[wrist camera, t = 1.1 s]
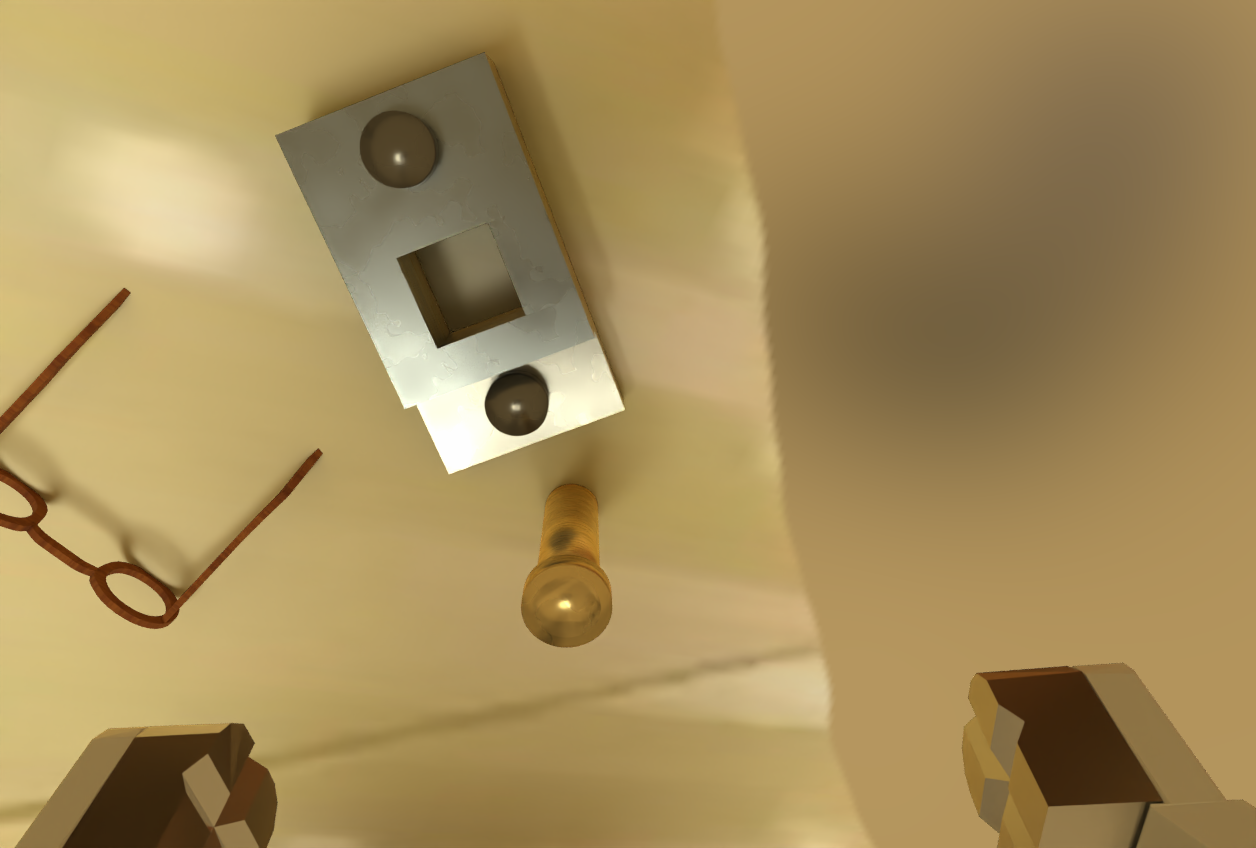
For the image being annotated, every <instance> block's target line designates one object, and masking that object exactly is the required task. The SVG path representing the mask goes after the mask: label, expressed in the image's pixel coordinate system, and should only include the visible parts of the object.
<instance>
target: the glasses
mask: <svg viewBox="0 0 1256 848" xmlns="http://www.w3.org/2000/svg"><path fill="white" fill-rule="evenodd" d="M129 294H130V292H129V291H128V290H126V289H125V288H124V289H123V290H122V291H121V292H120V293H119V294H118V295H117V296H116V297H115V298H114V299H113V300H112V301H111V302H110V303H109V304H108V305H107V306H106V307H105V308H104V309H103V310H102V311H101V312H100V313H99V314H98V315H97V316H96V317H95V318H94V319H93V320H92V321H91V322H90V323H89V324H88V326H87V327H86V328H85V329H84V330H83V331H82V332H81V333H80V334H79V335H78V336H77V337H76V338H75V339H74V340H73V341H72V342H71V343H70V344H69V345H68V346H67V347H66V348H65V349H64V350H63V351H62V352H61V353H60V354H59V355H58V356H57V357H56V358H55V359H54V360H53V361H52V362H51V363H50V365H49V366H48V367H47V368H46V369H45V370H44V371H43V372H42V373H41V375H40V376H39V377H38V378H37V379H36V380H35V381H34V382H33V383H32V384H31V385H30V386H29V388H28V389H27V390H26V391H25V392H24V393H23V394H22V395H21V396H20V397H19V398H18V399H17V400H16V401H15V402H14V403H13V405H12V406H11V407H10V408H9V409H8V410H7V411H6V412H5V413H4V414H3V415H2V416H1V417H0V434H1V433H2V432H3V431H4V430H5V429H6V428H7V427H8V425H9V424H10V423H11V422H12V421H13V420H14V419H15V418H16V417H17V416H18V415H19V414H20V413H21V412H22V411H23V410H24V408H25V407H26V406H27V405H28V404H29V403H30V402H31V401H32V400H33V399H34V398H35V397H36V396H37V395H38V394H39V393H40V391H41V390H42V389H43V388H44V387H45V386H46V385H47V384H48V383H49V382H50V381H51V379H52V378H53V377H54V376H55V375H56V374H57V373H58V371H59V370H60V369H61V368H62V367H63V366H64V365H65V363H66V362H67V361H68V360H69V359H70V358H71V357H72V356H73V355H74V354H75V353H76V352H77V351H78V350H79V348H80V347H81V346H82V345H83V344H84V343H85V342H86V341H87V340H88V339H89V338H90V337H91V336H92V335H93V334H94V333H95V332H96V331H97V330H98V329H99V328H100V327H101V326H102V324H103V323H104V322H105V321H106V320H107V319H108V318H109V317H110V316H111V315H112V314H113V313H114V312H115V311H116V310H117V309H118V308H119V307H120V306H121V305H122V303H123V302H124V301H125V299H126V298H127V297H128V296H129ZM322 454H323V453H322V452H321V451H320V450H319V448H318V449H317V450H316V451H315V452H314V453H313V454H312V455H311V456H310V457H309V458H308V459H307V460H306V461H305V462H304V464H303V465H302V466H301V467H300V468H299V470H298V471H297V472H296V473H295V474H294V476H293V477H292V478H291V479H290V481H289V482H288V483H287V484H286V485H285V487H284V488H283V489H282V490H281V492H280V493H279V494H278V495H277V496H276V497H275V498H274V499H273V500H272V501H271V502H270V503H269V504H268V505H267V506H266V507H265V508H264V509H263V510H262V511H261V512H260V513H259V514H258V515H257V516H256V517H255V518H254V519H253V520H252V522H251V523H250V524H249V525H248V526H247V527H246V528H245V529H244V530H243V531H242V532H241V533H240V534H239V535H238V536H237V537H236V538H235V539H234V540H233V541H232V542H231V544H230V545H229V546H228V547H227V548H226V549H225V550H224V551H223V552H222V553H221V554H220V555H219V556H218V557H217V559H216V560H215V561H214V562H213V563H212V564H211V565H210V566H209V567H208V568H207V569H206V570H205V571H204V572H203V573H202V575H201V576H200V577H199V578H198V579H197V580H196V581H195V582H194V583H193V584H192V585H191V586H190V587H189V588H188V590H187V591H186V592H185V593H184V594H183V595H182V596H181V597H180V598H179V599H178V600H177V599H176V597H175V595H174V594H173V593H172V592H171V590H170V589H169V588H167V587H166V586H165V585H163V584H162V583H160V582H159V581H158V580H156V579H155V578H154V577H152V576H151V575H149V574H148V573H147V572H145V571H144V570H143V569H141V568H140V567H137V566H135V565H133V564H129V563H126V562H119V561H118V562H111V563H108V564H105V565H103V566H101V567H99V568H97V567H95V566H93V565H91V564H89V563H87V562H85V561H83V560H82V559H80V558H79V557H78V556H76V555H75V554H73V553H72V552H71V551H69V550H68V549H66V548H65V547H64V546H62V545H61V544H59V543H58V542H56V541H55V540H54V539H52V538H51V537H49V536H48V535H47V534H46V533H45V532H44V531H42V530H41V528H40V527H39V526H38V523H39V522H40V521H41V520H42V519H43V518H44V517H45V516H46V513H47V511H48V510H47V505H46V503H45V502H44V500H43V499H42V498H41V496H40V495H39V494H38V493H36V492H35V491H33V490H32V489H31V488H29V487H28V486H26V485H25V484H24V483H22V482H21V481H20V480H18V479H17V478H15V477H14V476H13V475H11V474H10V473H8V472H7V471H5V470H3V469H0V481H2V482H4V483H5V484H7V485H9V486H10V487H12V488H13V489H15V490H16V491H18V492H19V493H20V494H21V495H22V496H23V497H24V498H26V500H27V501H28V502H29V503H30V505H31V507H32V510H33V513H32V515H31V516H28V517H24V518H18V517H12V516H8V515H5V514H2V513H0V526H2V527H5V528H8V529H12V530H16V531H27V533H28V534H29V535H30V537H31V538H32V539H33V540H34V541H35V542H36V543H37V544H38V545H40V546H41V547H43V548H44V549H45V550H47V551H48V552H50V553H51V554H52V555H54V556H55V557H57V558H58V559H59V560H61V561H62V562H64V563H65V564H67V565H68V566H69V567H71V568H73V569H74V570H76V571H78V572H80V573H83V574H85V575H88V576H90V579H89V581H90V584H91V586H92V588H93V590H94V591H95V593H96V595H97V596H98V597H99V598H100V600H101V601H102V602H103V603H104V604H105V605H106V606H107V607H109V608H110V609H111V610H112V611H114V612H115V613H116V614H118V615H119V616H121V617H123V618H124V619H126V620H128V621H130V622H132V623H134V624H136V625H139V626H142V627H146V628H152V629H159V628H164V627H166V626H168V625H169V624H170V623H172V622H173V621H174V619H175V618H176V617H177V615H178V613H179V608H180V607H181V606H182V605H183V604H184V603H185V602H186V601H187V600H188V599H189V597H190V596H191V595H192V594H193V593H194V592H195V591H196V590H197V589H198V588H199V587H200V586H201V585H202V584H203V583H204V581H205V580H206V579H207V578H208V577H209V576H210V575H211V574H212V573H213V572H214V571H215V570H216V569H217V568H218V566H219V565H220V564H221V563H222V562H223V561H224V560H225V559H226V558H227V557H228V556H229V555H230V554H231V553H232V551H233V550H234V549H235V548H236V547H237V546H238V545H239V544H240V543H241V542H242V541H243V540H244V539H245V538H246V537H247V536H248V535H249V534H250V533H251V532H252V531H253V530H254V529H255V528H256V527H257V526H258V525H259V524H260V523H261V522H262V521H263V520H264V519H265V518H266V517H267V516H268V515H269V514H270V513H271V512H272V511H273V510H274V509H275V508H276V507H278V506H279V505H280V504H281V503H282V502H283V501H284V500H285V499H286V498H287V497H288V496H289V495H290V493H291V492H292V491H293V490H294V488H295V487H296V486H297V485H298V484H299V482H300V481H301V480H302V479H303V477H304V476H305V475H306V474H307V472H308V471H309V470H310V469H311V468H312V466H313V465H314V464H315V463H316V461H317V460H318V459H319V458H320V456H321V455H322ZM114 573H123V574H127V575H130V576H133V577H135V578H137V579H139V580H141V581H142V582H144V583H145V584H147V585H148V586H150V587H151V588H152V589H153V590H155V591H156V592H157V593H158V594H159V596H160V597H161V598H162V599H163V601H164V603H165V606H166V613H165V614H164V615H162V616H148V615H145V614H142V613H140V612H137V611H135V610H133V609H132V608H130V607H128V606H127V605H125V604H124V603H123V602H122V601H120V600H119V599H118V598H117V597H116V596H115V595H114V594H113V593H112V592H111V590H110V589H109V587H108V585H107V582H106V576H108V575H110V574H114Z"/></svg>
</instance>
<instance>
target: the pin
mask: <svg viewBox="0 0 1256 848" xmlns="http://www.w3.org/2000/svg"><path fill="white" fill-rule="evenodd" d="M521 611H522V617H523V620H524V622H525V624H526V626H527V628H528V629H529V630H530V632H531V633H532V634H533V635H534V636H536V637H537V638H538V639H540V640H541V641H543V642H545V643H547V644H550V645H553V646H557V647H576V646H580V645H583V644H586V643H588V642H590V641H592V640H594V639H595V638H596V637H598V636H599V635H600V634H601V633H602V632H603V631H604V629H605V628H606V626H607V625H608V623H609V620H610V618H611V614H612V594H611V585H610V582H609V579H608V577H607V575H606V574H605V572H604V571H603V570H602V569H601V568H600V562H599V529H598V504H597V501H596V498H595V496H594V495H593V494H592V492H591V491H589V490H588V489H587V488H585V487H583V486H580V485H577V484H567V485H563V486H560V487H558V488H556V489H555V490H554V491H553V492H552V493H551V494H550V495H549V497H548V498H547V501H546V505H545V513H544V521H543V528H542V536H541V544H540V552H539V560H538V565H537V566H536V567H535V568H534V569H533V570H532V571H531V572H530V574H529V575H528V577H527V579H526V582H525V585H524V590H523V596H522V604H521Z"/></svg>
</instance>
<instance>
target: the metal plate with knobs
mask: <svg viewBox="0 0 1256 848" xmlns="http://www.w3.org/2000/svg"><path fill="white" fill-rule="evenodd" d="M275 137H276V139H277V141H278V143H279V145H280V147H281V149H282V151H283V153H284V156H285V158H286V160H287V162H288V164H289V166H290V168H291V170H292V172H293V175H294V177H295V179H296V181H297V183H298V185H299V187H300V189H301V191H302V193H303V196H304V198H305V200H306V202H307V204H308V206H309V208H310V210H311V212H312V215H313V217H314V219H315V221H316V223H317V225H318V227H319V229H320V231H321V233H322V236H323V238H324V240H325V242H326V244H327V246H328V248H329V250H330V252H331V255H332V257H333V259H334V261H335V263H336V265H337V267H338V269H339V271H340V273H341V276H342V278H343V280H344V282H345V284H346V286H347V288H348V290H349V292H350V295H351V297H352V299H353V301H354V303H355V305H356V307H357V309H358V311H359V314H360V316H361V318H362V320H363V322H364V324H365V326H366V328H367V330H368V332H369V335H370V337H371V339H372V341H373V343H374V345H375V347H376V349H377V351H378V354H379V356H380V358H381V360H382V362H383V364H384V366H385V368H386V370H387V372H388V375H389V377H390V379H391V381H392V383H393V385H394V387H395V389H396V391H397V394H398V396H399V398H400V400H401V402H402V404H403V406H404V408H405V409H406V408H409V407H412V406H414V405H417V407H418V409H419V411H420V414H421V416H422V418H423V420H424V422H425V424H426V426H427V429H428V431H429V433H430V435H431V437H432V439H433V441H434V443H435V446H436V448H437V450H438V452H439V454H440V456H441V458H442V461H443V463H444V465H445V467H446V469H447V471H448V473H449V474H451V473H454V472H457V471H459V470H462V469H465V468H468V467H470V466H473V465H476V464H479V463H481V462H484V461H487V460H489V459H492V458H495V457H498V456H500V455H503V454H506V453H509V452H511V451H514V450H517V449H520V448H522V447H525V446H528V445H530V444H533V443H536V442H539V441H541V440H544V439H547V438H550V437H552V436H555V435H558V434H561V433H563V432H566V431H569V430H571V429H574V428H577V427H580V426H582V425H585V424H588V423H591V422H593V421H596V420H599V419H602V418H604V417H607V416H610V415H612V414H615V413H618V412H621V411H623V410H625V406H624V400H623V397H622V395H621V392H620V389H619V387H618V384H617V382H616V379H615V376H614V374H613V371H612V368H611V366H610V363H609V361H608V358H607V355H606V353H605V350H604V348H603V345H602V342H601V340H600V337H599V335H598V332H597V329H596V327H595V324H594V322H593V319H592V316H591V314H590V311H589V309H588V306H587V303H586V301H585V298H584V296H583V293H582V290H581V288H580V285H579V283H578V280H577V277H576V275H575V272H574V269H573V267H572V264H571V262H570V259H569V256H568V254H567V251H566V249H565V246H564V243H563V241H562V238H561V236H560V233H559V230H558V228H557V225H556V223H555V220H554V217H553V215H552V212H551V210H550V207H549V204H548V202H547V199H546V197H545V194H544V191H543V189H542V186H541V184H540V181H539V178H538V176H537V173H536V170H535V168H534V165H533V163H532V160H531V157H530V155H529V152H528V150H527V147H526V144H525V142H524V139H523V137H522V134H521V131H520V129H519V126H518V124H517V121H516V118H515V116H514V113H513V111H512V108H511V105H510V103H509V100H508V98H507V95H506V92H505V90H504V87H503V85H502V82H501V79H500V77H499V74H498V72H497V69H496V66H495V64H494V63H493V61H492V60H491V59H490V58H489V57H488V56H487V54H486V53H485V52H483V53H481V54H478V55H476V56H473V57H471V58H468V59H466V60H463V61H461V62H458V63H456V64H453V65H451V66H448V67H446V68H443V69H441V70H438V71H436V72H433V73H431V74H428V75H426V76H423V77H421V78H418V79H416V80H413V81H411V82H408V83H406V84H403V85H401V86H398V87H396V88H393V89H391V90H388V91H386V92H383V93H381V94H378V95H376V96H373V97H371V98H368V99H366V100H363V101H361V102H358V103H356V104H353V105H351V106H348V107H346V108H343V109H340V110H338V111H335V112H333V113H330V114H328V115H325V116H323V117H320V118H318V119H315V120H313V121H310V122H308V123H305V124H303V125H300V126H298V127H295V128H293V129H290V130H288V131H285V132H283V133H280V134H278V135H275ZM486 223H488V225H489V227H490V229H491V232H492V234H493V237H494V239H495V242H496V244H497V247H498V249H499V251H500V254H501V256H502V259H503V261H504V264H505V266H506V268H507V271H508V273H509V276H510V278H511V281H512V283H513V286H514V288H515V290H516V293H517V295H518V298H519V300H520V303H521V305H522V306H521V307H518V308H516V309H513V310H510V311H508V312H505V313H503V314H500V315H497V316H495V317H492V318H489V319H487V320H484V321H481V322H479V323H476V324H473V325H471V326H468V327H465V328H463V329H460V330H457V331H455V332H452V333H450V331H449V329H448V326H447V324H446V322H445V320H444V317H443V315H442V313H441V311H440V308H439V306H438V304H437V302H436V299H435V297H434V295H433V292H432V290H431V288H430V286H429V283H428V281H427V279H426V277H425V274H424V272H423V270H422V268H421V265H420V263H419V261H418V259H417V256H416V254H415V252H414V251H416V250H418V249H421V248H424V247H426V246H429V245H431V244H434V243H437V242H439V241H442V240H444V239H447V238H450V237H452V236H455V235H457V234H460V233H463V232H465V231H468V230H470V229H473V228H476V227H478V226H481V225H483V224H486Z"/></svg>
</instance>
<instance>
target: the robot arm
mask: <svg viewBox="0 0 1256 848" xmlns="http://www.w3.org/2000/svg"><path fill="white" fill-rule="evenodd" d="M968 699H969V701H970V704H971V706H972V708H973V711H974V713H975V715H976V716H975V717H974V718H973V719H971V720H970V721H969V722H968V723H967V724H966V725H965V726H964V731H963V741H962V753H963V762H964V771H965V776H966V779H967V783H968V787H969V791H970V794H971V797H972V799H973V802H974V805H975V807H976V810H977V813H978V815H979V817H980V818H981V819H983V820H984V821H985V822H986V823H987V824H988V825H990V826H991V827H992V828H993V829H995V830H996V831H997V832H998V833H999V840H998V845H997V848H1256V808H1255V807H1254V806H1252V805H1251V804H1249V803H1248V802H1246V801H1244V800H1226V799H1225V797H1224V796H1223V794H1222V793H1221V792H1220V790H1219V789H1218V787H1217V786H1216V785H1215V783H1214V782H1213V780H1212V779H1211V777H1210V776H1209V775H1208V773H1207V772H1206V770H1205V769H1204V768H1203V766H1202V765H1201V763H1200V762H1199V761H1198V759H1197V758H1196V756H1195V755H1194V754H1193V752H1192V751H1191V749H1190V748H1189V747H1188V745H1187V744H1186V742H1185V741H1184V740H1183V738H1182V737H1181V736H1180V734H1179V733H1178V731H1177V730H1176V728H1175V727H1174V726H1173V724H1172V723H1171V721H1170V720H1169V719H1168V717H1167V716H1166V714H1165V713H1164V712H1163V710H1162V709H1161V708H1160V706H1159V705H1158V703H1157V702H1156V700H1155V699H1154V698H1153V696H1152V695H1151V694H1150V692H1149V691H1148V689H1147V688H1146V686H1145V685H1144V684H1143V682H1142V681H1141V679H1140V678H1139V677H1138V675H1137V674H1136V672H1135V671H1134V670H1133V669H1132V668H1130V667H1129V666H1127V665H1126V664H1124V663H1111V664H1097V665H1082V666H1073V667H1068V666H1060V667H1048V668H1035V669H1022V670H1009V671H996V672H983V673H976V674H975V676H974V677H973V678H972V680H971V682H970V688H969V695H968ZM254 744H255V743H254V741H253V739H252V737H251V736H250V734H249V732H248V730H247V729H246V727H245V725H244V724H237V723H222V724H195V725H169V726H149V727H132V728H111V729H107V730H106V731H104V732H103V733H101V734H100V735H98V736H97V737H95V738H94V739H92V741H91V742H90V743H89V745H88V746H87V747H86V749H85V750H84V752H83V753H82V754H81V756H80V757H79V759H78V760H77V761H76V763H75V764H74V766H73V767H72V768H71V770H70V771H69V773H68V774H67V775H66V777H65V778H64V780H63V781H62V782H61V784H60V785H59V787H58V788H57V789H56V791H55V792H54V794H53V795H52V796H51V798H50V799H49V801H48V802H47V803H46V805H45V806H44V808H43V809H42V810H41V812H40V813H39V815H38V816H37V817H36V819H35V820H34V822H33V823H32V824H31V826H30V827H29V828H28V830H27V831H26V833H25V834H24V835H23V837H22V838H21V840H20V841H19V842H18V844H17V845H16V847H15V848H267V846H268V843H269V841H270V838H271V836H272V833H273V831H274V824H275V817H276V810H277V803H278V802H277V796H276V789H275V783H274V781H273V779H272V777H271V775H270V773H269V771H268V769H267V768H265V767H264V766H262V765H260V764H259V763H257V762H256V761H254V760H253V759H251V758H250V757H248V756H249V754H250V752H251V750H252V748H253V746H254Z"/></svg>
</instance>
